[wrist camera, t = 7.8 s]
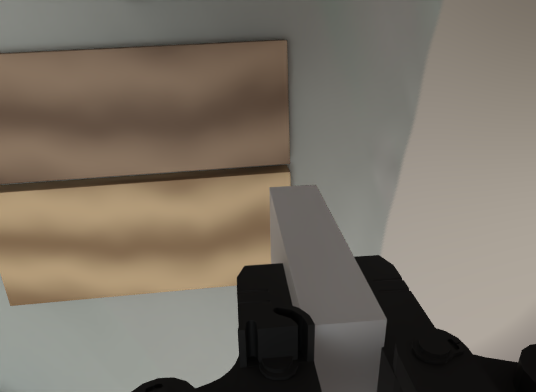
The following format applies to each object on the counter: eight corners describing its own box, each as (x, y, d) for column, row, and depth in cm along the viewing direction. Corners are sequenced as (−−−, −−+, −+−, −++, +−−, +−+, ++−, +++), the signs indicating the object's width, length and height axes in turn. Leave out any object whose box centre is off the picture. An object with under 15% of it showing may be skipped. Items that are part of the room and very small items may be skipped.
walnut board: (-50, 55, 31) (-68, 57, 29) (283, 39, 32) (286, 40, 30) (-13, 177, 34) (-27, 186, 32) (286, 156, 36) (289, 163, 34)
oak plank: (-11, 186, 34) (-24, 194, 32) (286, 165, 36) (290, 172, 34) (20, 292, 38) (10, 305, 36) (289, 268, 40) (293, 280, 38)
